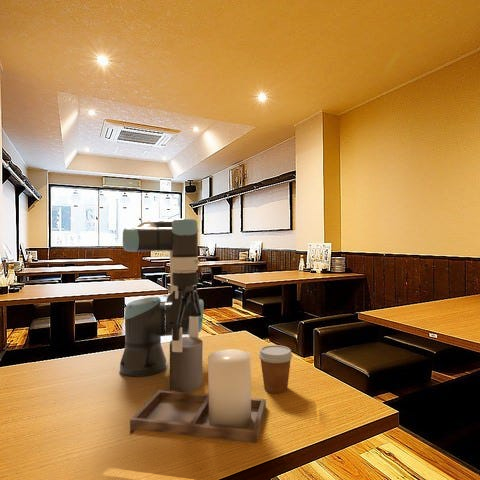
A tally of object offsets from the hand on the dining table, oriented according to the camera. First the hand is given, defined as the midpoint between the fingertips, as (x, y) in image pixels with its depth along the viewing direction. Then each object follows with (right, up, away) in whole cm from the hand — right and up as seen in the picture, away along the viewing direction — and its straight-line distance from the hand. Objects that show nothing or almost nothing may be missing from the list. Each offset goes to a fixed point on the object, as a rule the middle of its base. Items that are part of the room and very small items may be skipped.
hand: (186, 344), depth 98 cm
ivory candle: (+13, -12, -19) cm, 26 cm away
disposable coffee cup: (+26, -13, -3) cm, 29 cm away
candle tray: (+7, -13, -18) cm, 23 cm away
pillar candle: (0, -13, 0) cm, 13 cm away
